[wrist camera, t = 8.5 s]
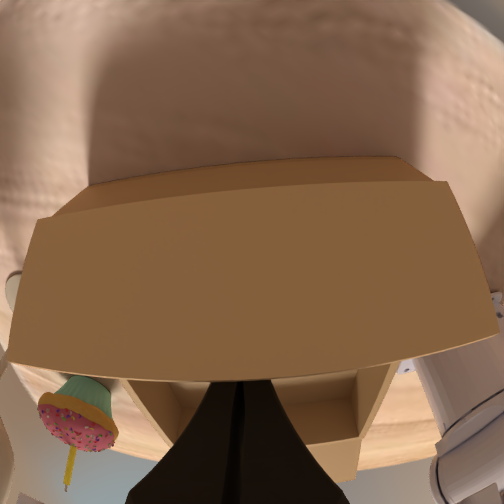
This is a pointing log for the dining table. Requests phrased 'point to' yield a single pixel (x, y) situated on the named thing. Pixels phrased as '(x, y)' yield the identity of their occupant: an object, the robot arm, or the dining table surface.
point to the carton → (288, 389)
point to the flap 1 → (252, 284)
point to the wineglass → (3, 458)
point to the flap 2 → (338, 459)
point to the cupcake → (79, 417)
